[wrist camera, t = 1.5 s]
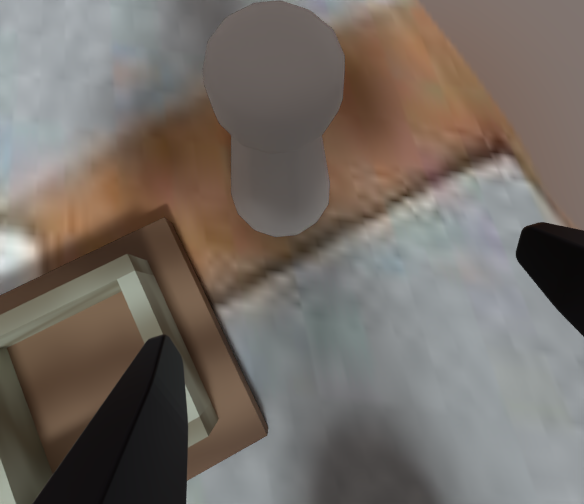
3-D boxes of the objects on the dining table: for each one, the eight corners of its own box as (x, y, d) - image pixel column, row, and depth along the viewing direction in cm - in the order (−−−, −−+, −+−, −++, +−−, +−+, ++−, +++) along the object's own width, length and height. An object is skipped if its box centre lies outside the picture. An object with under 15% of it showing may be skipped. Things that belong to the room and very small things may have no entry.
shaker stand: (268, 427, 19) (264, 455, 16) (39, 556, 18) (-24, 619, 14) (171, 222, 21) (147, 204, 18) (-42, 324, 20) (-115, 327, 16)
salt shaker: (319, 156, 22) (364, -48, 10) (331, 238, 21) (399, 132, 9) (233, 165, 22) (161, -32, 9) (241, 249, 21) (173, 156, 8)
